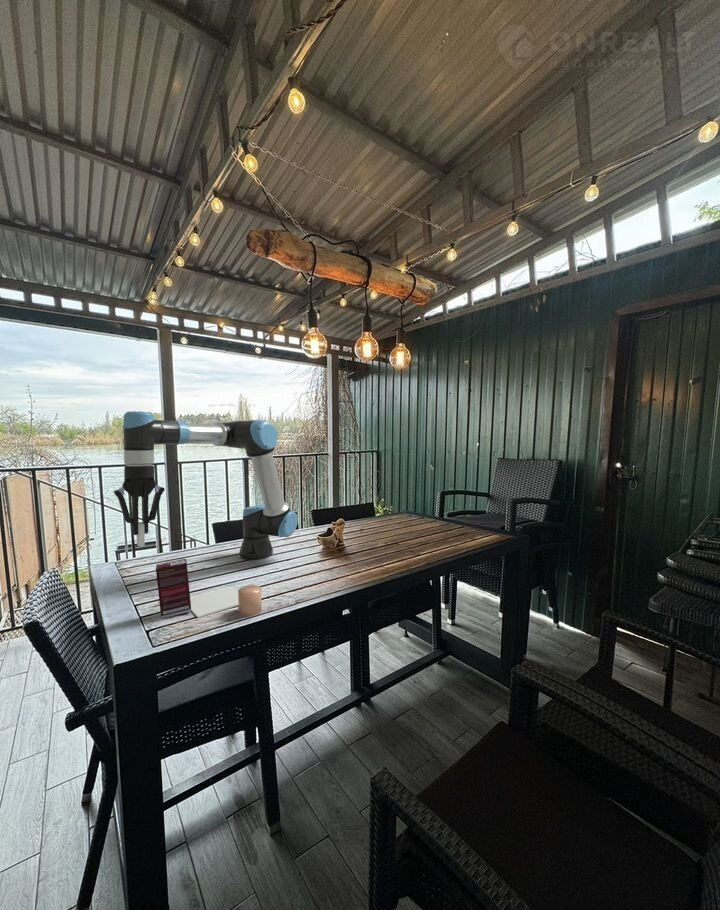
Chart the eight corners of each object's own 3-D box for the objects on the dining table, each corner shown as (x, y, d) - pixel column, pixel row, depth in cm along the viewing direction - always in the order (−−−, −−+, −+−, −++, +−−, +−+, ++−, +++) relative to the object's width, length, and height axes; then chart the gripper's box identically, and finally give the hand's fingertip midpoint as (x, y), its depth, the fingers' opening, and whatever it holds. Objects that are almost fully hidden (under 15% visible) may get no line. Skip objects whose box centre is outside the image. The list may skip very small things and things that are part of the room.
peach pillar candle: (255, 604, 122) (255, 583, 121) (265, 611, 117) (265, 590, 116) (234, 610, 117) (234, 589, 117) (244, 618, 112) (244, 596, 112)
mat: (231, 587, 135) (231, 586, 135) (250, 601, 123) (250, 600, 123) (181, 600, 124) (181, 599, 124) (197, 618, 112) (197, 616, 112)
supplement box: (191, 605, 119) (187, 557, 118) (191, 611, 115) (187, 562, 114) (160, 612, 116) (156, 563, 114) (160, 619, 111) (155, 568, 110)
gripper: (160, 463, 114) (161, 538, 115) (110, 465, 106) (112, 546, 106) (167, 464, 109) (168, 543, 110) (115, 466, 100) (116, 552, 101)
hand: (140, 545), depth 108 cm, fingers closed
